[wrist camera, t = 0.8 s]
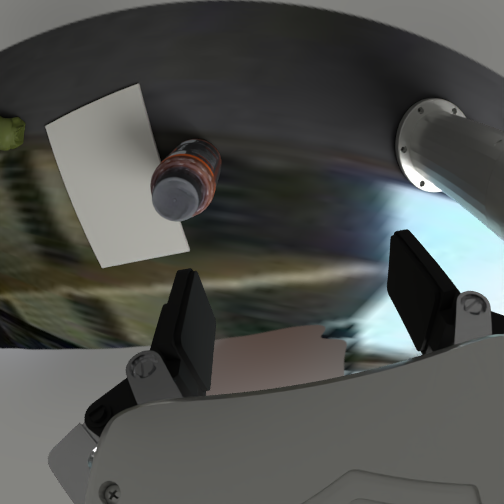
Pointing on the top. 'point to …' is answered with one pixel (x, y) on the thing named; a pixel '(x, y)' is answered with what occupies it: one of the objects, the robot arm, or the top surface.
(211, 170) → the supplement bottle
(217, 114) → the top surface
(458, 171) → the robot arm
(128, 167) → the mat
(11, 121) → the pear
